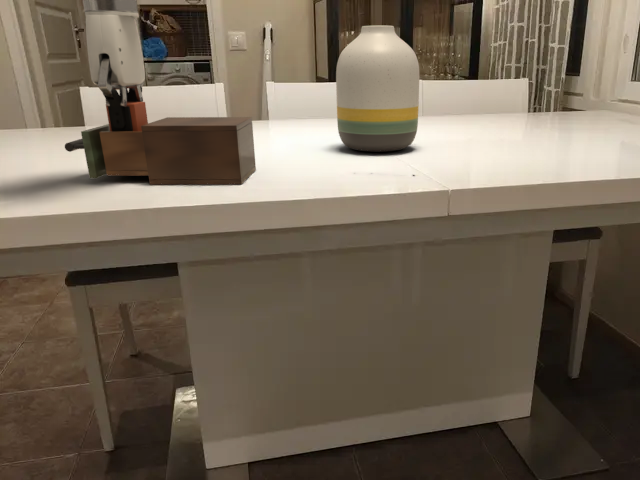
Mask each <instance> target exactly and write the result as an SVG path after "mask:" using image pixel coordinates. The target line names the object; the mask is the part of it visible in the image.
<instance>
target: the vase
mask: <svg viewBox="0 0 640 480" xmlns="http://www.w3.org/2000/svg"><path fill="white" fill-rule="evenodd" d="M335 70H336V71H335V85H336V90H335V91H336V118H337V119H336V121H337V132H338V136H339V138H340V140H341V143H342V144H343V145H344V146H346V147H347V148H348V149H351V150H354V151H360V152H371V153H384V152H386V153H387V152H394V151H401V150H403V149H406V148H408V147H409V146H411V144H413V142H414V140H415V139H416V137H417V136H416V135H417V131H418V125H419V103H420V101H419V100H420V64H419V61H418V57H417V54H416V52H415V51H414V50H413V48H412V47H411V46H410V45H409V44H408V43H407V42H405V41H404V40H403V39H402V38H401V37H399V36H398V34H397V33H396V31H395V26H394V25H362V26H361V30H360V33H359V34H358V36H356V37H355V38H354V39H353V40H352V41H351V42H349V43H348V44H347V45H346V46H345V48H343V50H342V51H341V52H340V54H339V57H338V59H337V62H336V69H335Z"/></svg>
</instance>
